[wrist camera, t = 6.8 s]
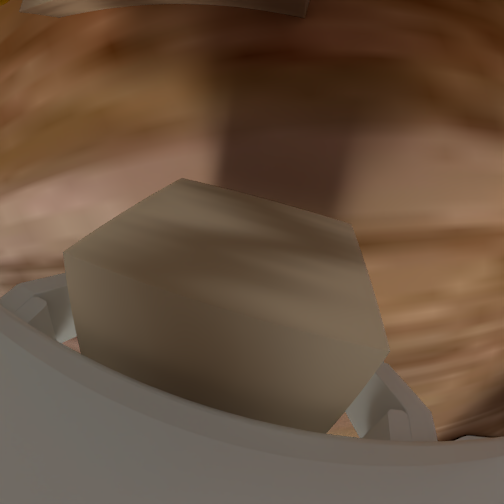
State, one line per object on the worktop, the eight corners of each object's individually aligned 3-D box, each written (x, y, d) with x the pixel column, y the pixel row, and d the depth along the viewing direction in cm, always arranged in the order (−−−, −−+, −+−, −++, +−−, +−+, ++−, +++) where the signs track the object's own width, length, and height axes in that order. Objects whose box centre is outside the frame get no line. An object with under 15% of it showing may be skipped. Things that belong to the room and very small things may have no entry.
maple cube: (351, 224, 10) (389, 350, 4) (298, 349, 12) (284, 476, 7) (181, 177, 10) (63, 252, 5) (167, 310, 13) (100, 415, 7)
